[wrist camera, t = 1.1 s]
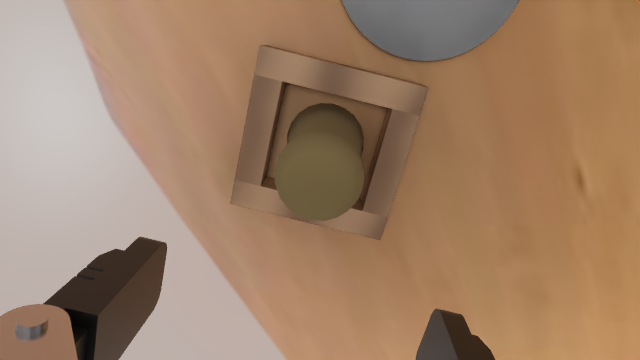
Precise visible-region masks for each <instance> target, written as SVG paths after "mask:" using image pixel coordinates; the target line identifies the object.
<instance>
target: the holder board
mask: <svg viewBox="0 0 640 360" xmlns="http://www.w3.org/2000/svg"><path fill="white" fill-rule="evenodd" d="M286 82H287V83H291V84H295V85H299V86H303V87H307V88H311V89H315V90H319V91H323V92H327V93H331V94H335V95H339V96H343V97H347V98H351V99H355V100H359V101H363V102H367V103H371V104H375V105H379V106H383V107H387V108H388V109H387V113H386V116H385V120H384V123H383V126H382V130H381V133H380V137H379V140H378V144H377V147H376V151H375V154H374V157H373V161H372V164H371V168H370V171H369V175H368V178H367V182H366V185H365V188H364V192H363V195H362V199H361V200H357V201H356V203H355V204H354V205H353V206H352V207H351V208H350V209H349V211H347V212H346V213H344V214H342V215H341V216H339V217H337V218H334V219H330V220H325V221H317V220H309V219H306V218H303V217H300V216H298V215H297V214H295V213H294V212H292V211H291V210H290V209H288V208H287V207H286V205H285V204H284V202H283V201H282V200H281V198H280V197H279V194H278V191H277V188H276V185H275V179H272V178H268V177H266V173H267V168H268V164H269V159H270V154H271V149H272V145H273V140H274V135H275V130H276V126H277V121H278V116H279V112H280V107H281V102H282V97H283V93H284V88H285V83H286ZM427 91H428V87H426V86H424V85H421V84H417V83H413V82H409V81H405V80H401V79H397V78H394V77H390V76H386V75H382V74H378V73H374V72H370V71H366V70H362V69H358V68H354V67H350V66H346V65H342V64H338V63H334V62H330V61H326V60H322V59H318V58H314V57H310V56H306V55H303V54H299V53H295V52H291V51H287V50H283V49H279V48H275V47H271V46H267V45H260V47H259V53H258V58H257V63H256V69H255V74H254V79H253V85H252V90H251V95H250V101H249V106H248V111H247V116H246V122H245V127H244V132H243V138H242V143H241V148H240V154H239V159H238V164H237V170H236V175H235V180H234V186H233V191H232V196H231V202H230V204H233V205H237V206H241V207H245V208H249V209H253V210H258V211H262V212H266V213H270V214H274V215H278V216H282V217H287V218H291V219H295V220H299V221H303V222H307V223H311V224H315V225H320V226H324V227H328V228H332V229H336V230H340V231H344V232H348V233H353V234H357V235H361V236H365V237H369V238H373V239H377V240H381V237H382V234H383V231H384V228H385V225H386V221H387V218H388V215H389V212H390V209H391V206H392V202H393V199H394V196H395V193H396V190H397V186H398V183H399V180H400V177H401V174H402V171H403V167H404V164H405V161H406V158H407V155H408V152H409V148H410V145H411V142H412V139H413V136H414V133H415V129H416V126H417V123H418V120H419V117H420V114H421V110H422V107H423V104H424V101H425V98H426V95H427Z"/></svg>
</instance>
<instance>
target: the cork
mask: <svg viewBox="0 0 640 360" xmlns="http://www.w3.org/2000/svg"><path fill="white" fill-rule="evenodd" d="M363 140H364V137H363V133H362V129H361V126H360V124H359V123H358V121H357V120H356V118H355V117H354V115H352V114H351V113H350V112H349V111H347V110H346V109H345V108H343V107H340V106H337V105H335V104H325V103H320V104H316V105H313V106H309V107H308V108H306V109H305V110H303V111H302V112H300V113H299V114H298V115H297V116H296V118H295V119H294V120H293V122H292V123H291V126H290V128H289V131H288V135H287V146H286V147H285V148H284V150H283V151H282V152H281V154H280V155H279V158H278V161H277V164H276V167H275V185H276V188H277V191H278V194H279V197H280V198H281V200H282V201H283V202H284V204H285V205H286V207H287V208H288V209H290V210H291V211H292V212H294V213H295V214H297V215H298V216H300V217H303V218H306V219H309V220H317V221H325V220H330V219H334V218H337V217H339V216H341V215H342V214H344V213H346V212H347V211H349V209H350V208H351V207H352V206H353V205H354V204H355V203H356V201H357V200H358V199H359V196H360V194H361V192H362V189H363V187H364V174H365V172H364V168H363V165H362V161H361V157H360V156H361V153H362V150H363Z"/></svg>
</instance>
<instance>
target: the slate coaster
mask: <svg viewBox="0 0 640 360" xmlns="http://www.w3.org/2000/svg"><path fill="white" fill-rule="evenodd" d="M518 2H519V0H342V3H343V5H344V7H345V9H346V12H347V14H348V16H349V17H350V19H351V20H352V22H353V23H354V25H355V26H356V28H357V29H358V30H359V31H360V32H361V33H362V35H363V36H365V37H366V38H367V39H368V40H369V41H370V42H371V43H373V44H374V45H376V46H377V47H379V48H380V49H382V50H384V51H386V52H388V53H390V54H392V55H395V56H398V57H401V58H405V59H411V60H417V61H433V60H442V59H446V58H451V57H454V56H457V55H460V54H462V53H465V52H467V51H469V50H471V49H473V48H475V47H476V46H478V45H479V44H481V43H482V42H484V41H485V40H487V39H488V38H489V37H490V36H491V35H492V34H494V33H495V32H496V31H497V30H498V29H499V28H500V27H501V25H502V24H503V23H504V22H505V21H506V20H507V18H508V17H509V16H510V14H511V13H512V12H513V10H514V9H515V7H516V5H517V3H518Z"/></svg>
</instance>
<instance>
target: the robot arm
mask: <svg viewBox="0 0 640 360" xmlns="http://www.w3.org/2000/svg"><path fill="white" fill-rule="evenodd" d="M166 252H167V245H166V243H164V242H160V241H156V240H152V239H148V238H144V237H139V238H137V239H136V240H135V241H134V242H133V243H132V244H131V245H130V246H129V247H128V248H127V249H126V250H125V251H123V250H118V249H115V250H112V251H109V252H107V253H104V254H102V255H99V256H98V257H97V258H96V259H94V260H93V261H92V262H91V263H90V264H89V265H88V266H87V268H84V269H83V270H82V271H81V272H79V273H78V274H77V277H74V278H72V279H71V280H70V281H69V282H68V283H67V284H66V285H65V286H63V287H62V288H61V289H60V290H59V291H57V292H56V293H55V294H54V295H53V296H52V297H51V298H50V299H48V300H47V301H46V302H45V303H44V304H35V305H28V306H23V307H19V308H16V309H13V310H11V311H9V312H7V313H5V314H3V315H2V316H0V360H118V359H119V358H120V357H121V355H122V354H123V352H124V351H125V349H126V348H127V347H128V345H129V344H130V343H131V341H132V340H133V338H134V337H135V335H136V334H137V332H138V331H139V330H140V328H141V327H142V326H143V324H144V323H145V321H146V320H147V318H148V317H149V316H150V314H151V313H152V311H153V310H154V308H155V306H156V304H157V301H158V299H159V295H160V291H161V286H162V279H163V273H164V266H165V260H166ZM416 360H495V358H494V356H493V354H492V352H491V350H490V349H489V348H488V347H487V346H486V345H485V344H484V343H483V342H482V340H481V339H480V338H479V337H478V336H475V335H472V334H471V332H470V330H469V328H468V326H467V323H466V321H465V319H464V317H463V316H462V315H461V314H457V313H453V312H449V311H445V310H440V309H435V310H434V311H433V313H432V315H431V317H430V320H429V322H428V325H427V328H426V330H425V333H424V336H423V338H422V341H421V343H420V346H419V349H418V351H417V355H416Z"/></svg>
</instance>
